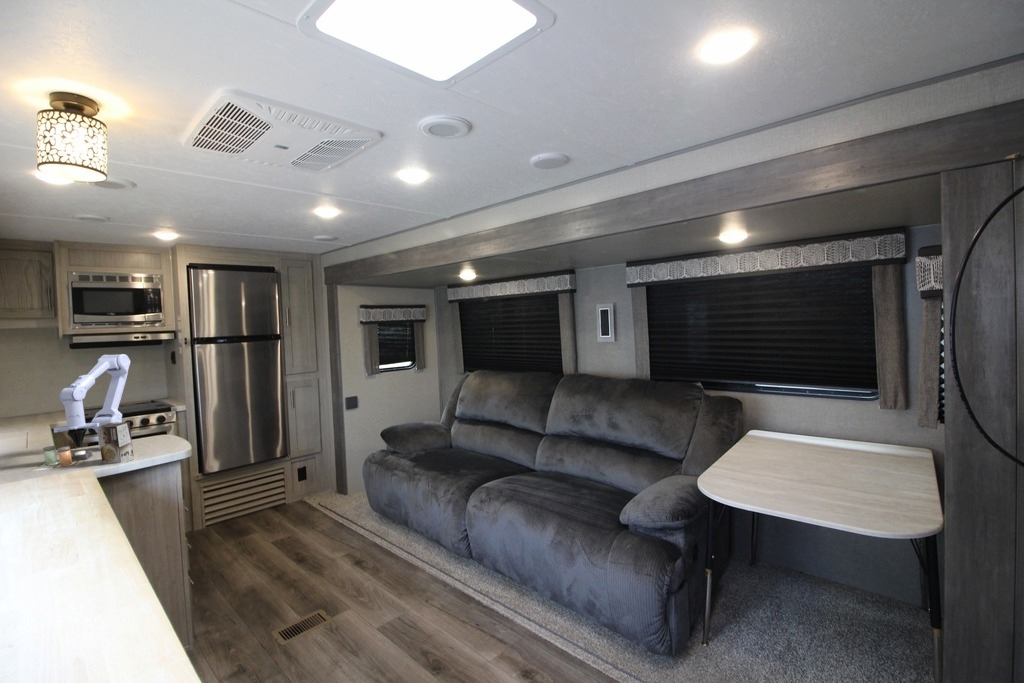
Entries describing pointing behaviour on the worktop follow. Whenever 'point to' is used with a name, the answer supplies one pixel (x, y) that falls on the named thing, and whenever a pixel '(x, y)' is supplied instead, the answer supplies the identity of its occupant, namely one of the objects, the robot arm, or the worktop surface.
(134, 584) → the worktop surface
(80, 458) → the picture board
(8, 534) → the worktop surface
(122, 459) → the coffee box
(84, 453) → the button
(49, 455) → the green jar
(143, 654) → the worktop surface
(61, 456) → the orange jar
